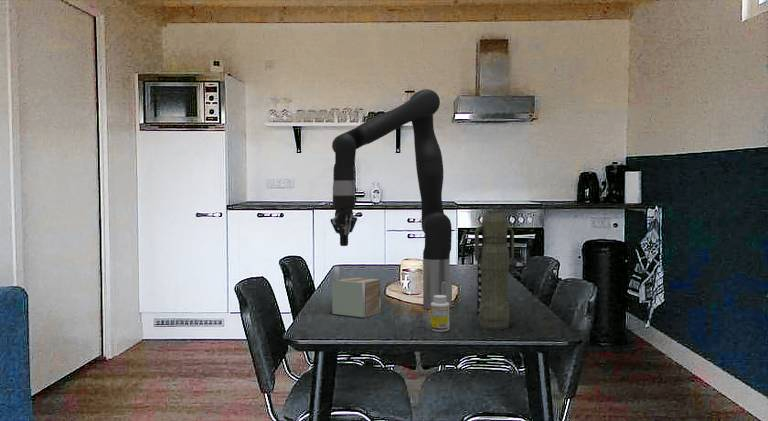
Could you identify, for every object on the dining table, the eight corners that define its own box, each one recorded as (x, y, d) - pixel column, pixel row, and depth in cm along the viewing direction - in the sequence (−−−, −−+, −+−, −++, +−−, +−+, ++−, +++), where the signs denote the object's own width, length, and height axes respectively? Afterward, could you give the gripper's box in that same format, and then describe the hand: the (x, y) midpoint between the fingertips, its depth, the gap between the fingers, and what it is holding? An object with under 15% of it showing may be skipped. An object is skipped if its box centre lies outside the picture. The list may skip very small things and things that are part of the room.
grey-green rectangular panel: (366, 316, 214) (366, 268, 213) (363, 317, 213) (363, 269, 212) (334, 312, 220) (334, 266, 220) (331, 313, 219) (331, 266, 218)
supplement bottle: (438, 327, 200) (437, 293, 199) (453, 329, 196) (453, 295, 196) (427, 330, 196) (426, 296, 195) (442, 333, 192) (442, 298, 192)
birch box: (380, 312, 223) (380, 279, 222) (364, 317, 214) (364, 283, 214) (351, 308, 229) (350, 277, 228) (334, 313, 220) (334, 281, 220)
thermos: (518, 328, 198) (519, 211, 196) (481, 330, 195) (481, 212, 194) (506, 322, 207) (507, 210, 205) (471, 323, 204) (471, 210, 202)
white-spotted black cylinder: (487, 319, 211) (487, 256, 210) (472, 314, 218) (472, 254, 217) (508, 316, 215) (508, 255, 214) (492, 311, 222) (492, 252, 221)
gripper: (342, 194, 213) (342, 248, 214) (364, 194, 225) (364, 244, 225) (323, 194, 217) (323, 247, 218) (345, 193, 228) (345, 243, 229)
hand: (344, 245), depth 222 cm, fingers closed
